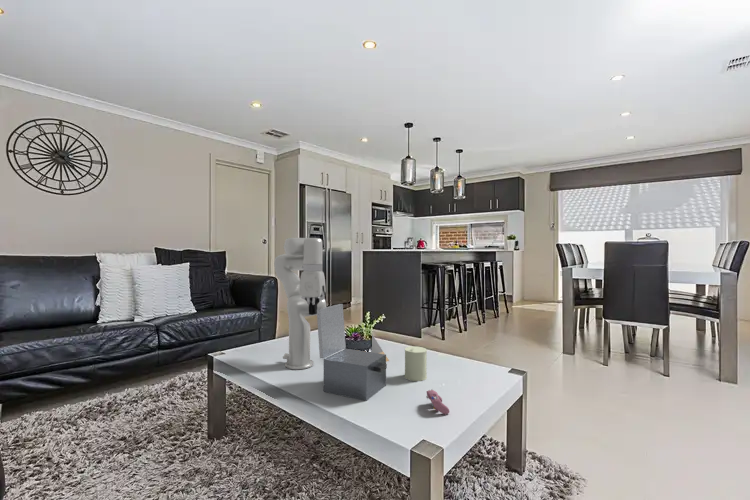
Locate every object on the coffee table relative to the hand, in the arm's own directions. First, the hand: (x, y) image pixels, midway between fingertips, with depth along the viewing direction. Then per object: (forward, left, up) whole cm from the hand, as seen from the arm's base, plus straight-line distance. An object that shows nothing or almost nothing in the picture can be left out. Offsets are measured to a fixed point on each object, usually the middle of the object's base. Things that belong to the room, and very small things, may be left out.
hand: (312, 314), depth 145 cm
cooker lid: (+10, 0, -5) cm, 11 cm away
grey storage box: (+21, 0, -26) cm, 34 cm away
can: (+36, +22, -27) cm, 50 cm away
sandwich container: (+8, +36, -27) cm, 46 cm away
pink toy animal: (+52, -2, -27) cm, 59 cm away
